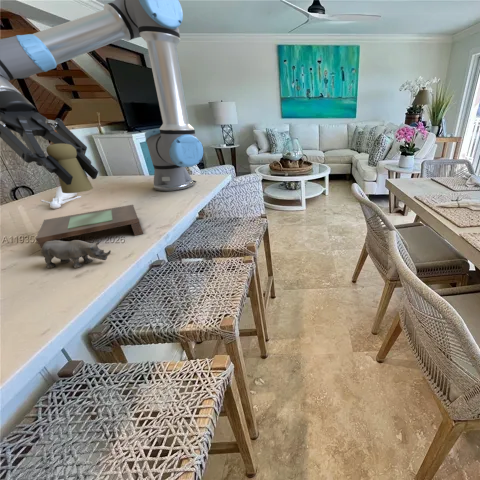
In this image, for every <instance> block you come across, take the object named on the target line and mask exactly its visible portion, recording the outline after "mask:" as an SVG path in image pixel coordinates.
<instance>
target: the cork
mask: <svg viewBox="0 0 480 480" xmlns="http://www.w3.org/2000/svg"><path fill="white" fill-rule="evenodd" d="M45 151H46V153H47V156H49V155H51V156H52V157H53V158H54V159H55V160H56V161H57V162H58V163H59V164H60V165H61V166H62V167H63V168H64V169H65V170H66V171H67V172H68V173H69V174H71V175H72V176H73V178H72V182H71V184H70V185H67V184H66V183H65V182H64V181H62V180H61V179H60V178H59V177H58V176H57V177H58V183H59V185H60V187H61V189H62V192H63V193H77V194H78V193H83V192H88V191H90V190H93V189H94V186H93V185H92V182H91V181H90V179H89V178H88V176H87V173H86V172H85V171H84V170H83V169H82V167H81V166H80V164H79V162H78V160H77V159H76V156H77V151H76V149H75V148H74V147H73V146H72V145H70V144H63V143H60V144H54V143H53V144H48V145H47V146H46V148H45Z"/></svg>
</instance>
